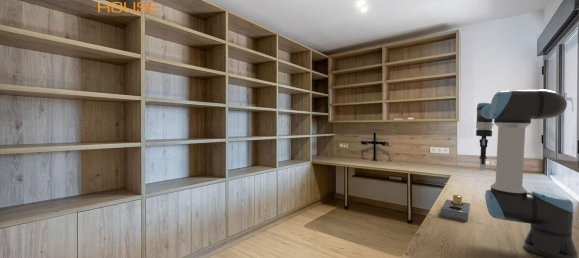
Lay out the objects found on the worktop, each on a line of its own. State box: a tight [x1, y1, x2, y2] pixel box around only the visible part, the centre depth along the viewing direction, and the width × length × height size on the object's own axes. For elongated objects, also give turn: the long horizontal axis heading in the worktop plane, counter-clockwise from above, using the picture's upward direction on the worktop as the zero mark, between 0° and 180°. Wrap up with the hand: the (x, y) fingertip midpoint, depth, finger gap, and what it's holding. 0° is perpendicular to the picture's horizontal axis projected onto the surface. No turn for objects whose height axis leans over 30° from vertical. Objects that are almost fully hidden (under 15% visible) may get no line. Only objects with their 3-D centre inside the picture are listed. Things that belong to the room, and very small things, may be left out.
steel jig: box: [440, 199, 471, 223], centre depth 147 cm, size 22×12×4 cm, turn 143°
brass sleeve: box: [452, 194, 463, 205], centre depth 151 cm, size 4×4×9 cm
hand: (482, 169), depth 152 cm, fingers closed
